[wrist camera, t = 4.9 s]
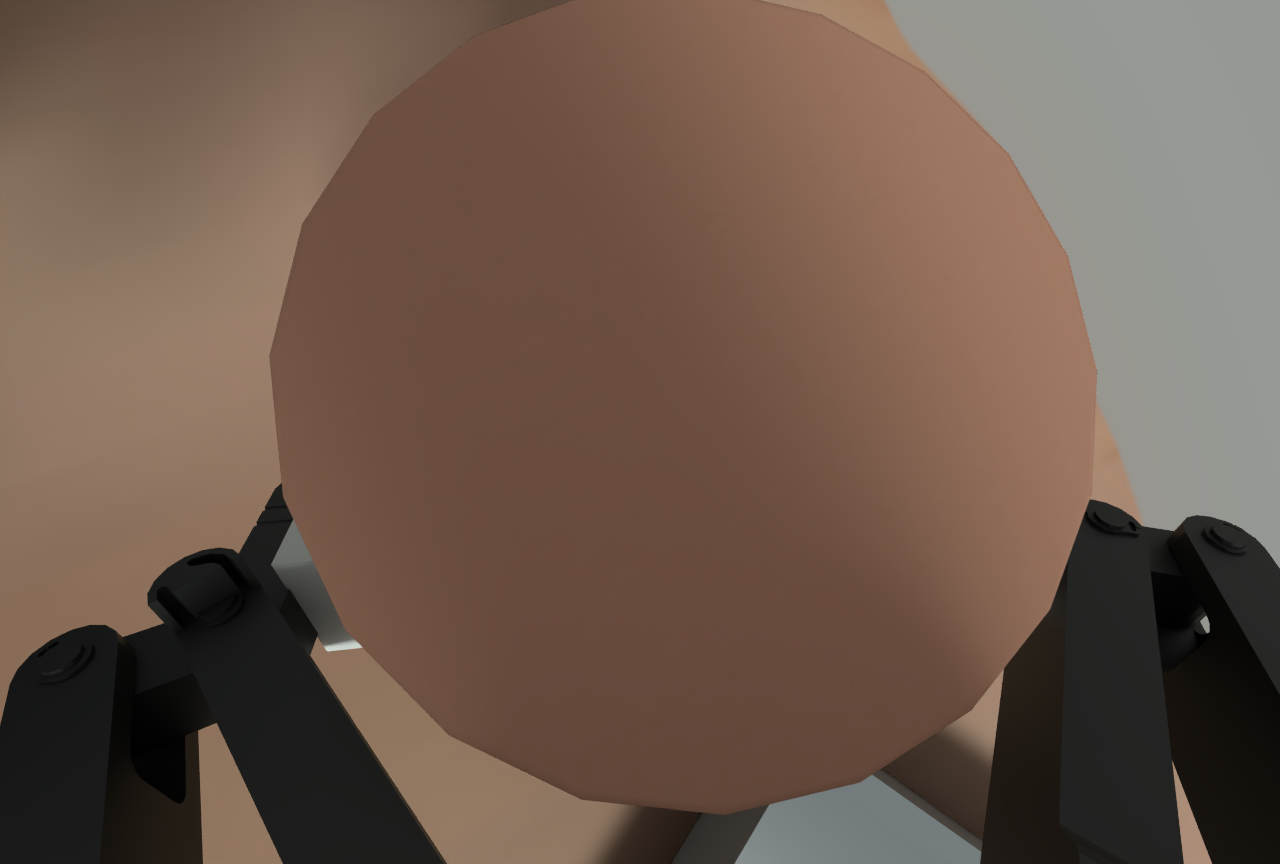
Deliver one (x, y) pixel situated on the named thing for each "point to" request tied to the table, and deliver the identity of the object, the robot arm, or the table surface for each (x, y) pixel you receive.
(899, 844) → the tray
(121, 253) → the table surface
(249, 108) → the table surface
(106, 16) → the table surface
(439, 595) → the coffee jar
